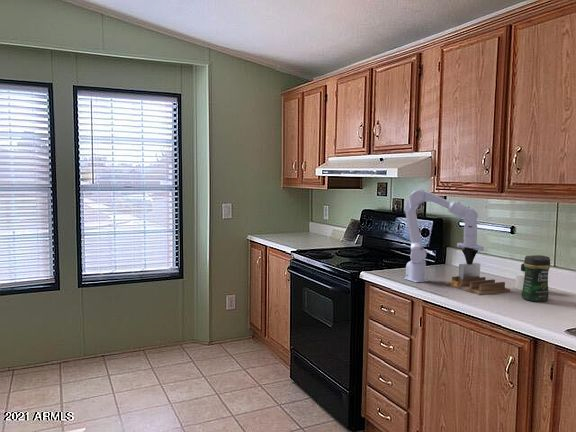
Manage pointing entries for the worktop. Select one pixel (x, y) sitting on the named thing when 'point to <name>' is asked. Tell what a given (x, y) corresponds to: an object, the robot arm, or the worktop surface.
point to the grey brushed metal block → (468, 271)
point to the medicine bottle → (520, 278)
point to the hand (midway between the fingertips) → (469, 264)
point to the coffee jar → (536, 278)
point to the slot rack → (478, 285)
